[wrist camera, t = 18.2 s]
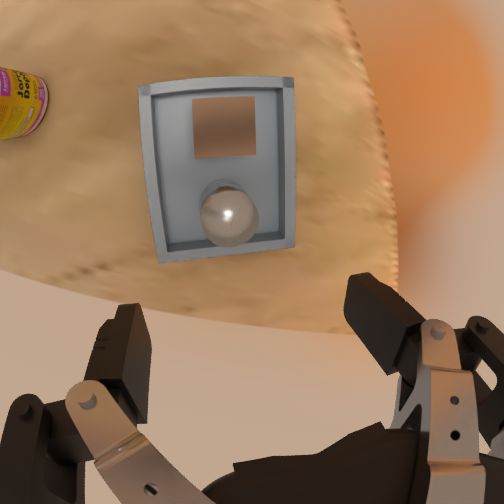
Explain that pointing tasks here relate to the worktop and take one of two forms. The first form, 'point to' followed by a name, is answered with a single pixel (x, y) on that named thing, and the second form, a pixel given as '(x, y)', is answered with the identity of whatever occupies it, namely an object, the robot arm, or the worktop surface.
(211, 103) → the walnut block
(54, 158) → the worktop surface
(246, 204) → the grey rounded cylinder
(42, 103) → the supplement bottle
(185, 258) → the parts tray
